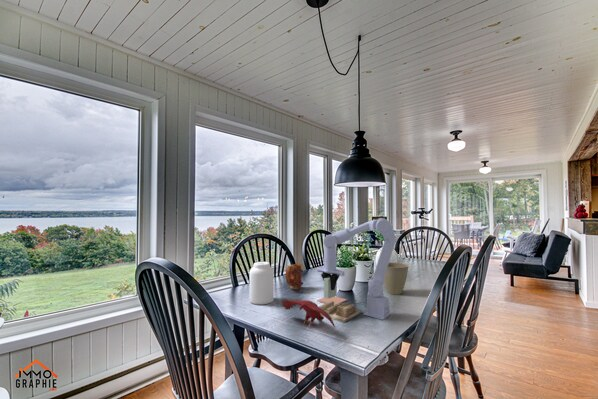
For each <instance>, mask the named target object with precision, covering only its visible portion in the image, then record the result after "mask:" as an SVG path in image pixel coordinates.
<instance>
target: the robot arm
mask: <svg viewBox="0 0 598 399" xmlns="http://www.w3.org/2000/svg"><path fill="white" fill-rule="evenodd" d="M367 231H373V232H375V231H377V232H378V233H379V234H381V236H382V238H383V240H384V242H383V244H382V247H381V250H380V254H379V256H378V260H377V262H376V266H375V269H374V272H373V274H372V277H371V278H370V279H369V280H368V282H367V287H368V288H367V290H368V292H367V294H366V295H367V296H366V297H367V298H366V299H367V300H366V301H367V302H366V303H367V304H366V305H367V307H366V308H367V309H366V310H367V311H365V312H364V313H363V316H367V317H371V318H375V319H378V320H385V319H386V318H388V317H389V316H391V312H390V310H391V309H390V304H391V303H390V299H389V297H387V296H385V295H384V289H383V288H384V287H383V285H384V283H385V282H384V276H385V273H386V270H387V267H388V264H389V263H390V261H391V257H392V254H393V251H394V248H395V245H396V242H397V239H396V235H395V232H394V228H393V225H392V224H391V223H390V221H389V220H387V219H386V218H384V217H380V218H377V219H373V220H369V221H366V222H363V223H362V224H359V225H357V226H355V227H353V228H347V227H345V228H344V227H342V228H340V230H338V231H335V232H333V231H332V232H331V234H327V235H326V236H325V237H324V239H323V245H324V247H323V249H324V250H323V261H324V262H323V266H324V267H317V268H316V272H317V273H321V274H320V276H321V278H322V280H323V281H324V278H327V277H330V281H331V290H335V286H336V282H337V283H338V280H339V279H340V277H344V276H345V271H343V270H340V269H337V250H336V249H337V248H336V247H337V246H336V245H340V244H343V243H345V242H347V241H350V240H351V239H352V237H353V236H356V235H358V234H360V233H364V232H367Z"/></svg>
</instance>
